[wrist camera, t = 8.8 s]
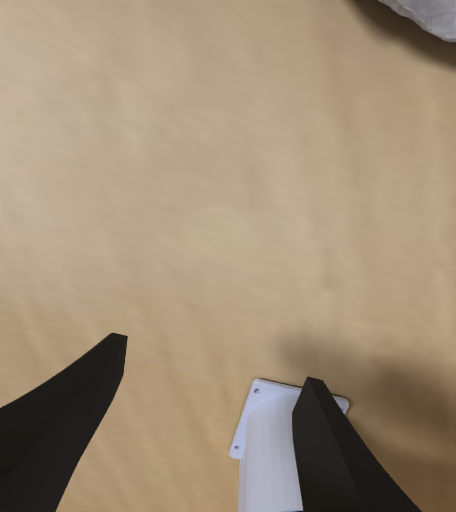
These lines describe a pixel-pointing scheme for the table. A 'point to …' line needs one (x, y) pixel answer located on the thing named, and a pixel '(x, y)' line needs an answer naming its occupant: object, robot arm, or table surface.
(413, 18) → the stone block
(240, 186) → the table surface
